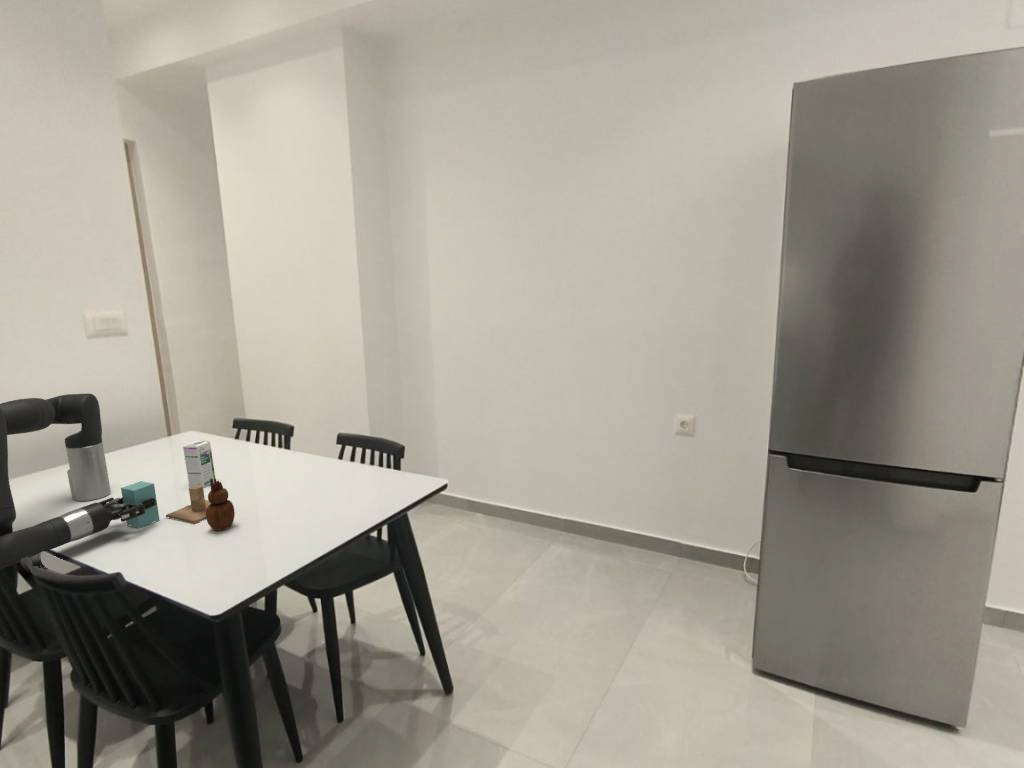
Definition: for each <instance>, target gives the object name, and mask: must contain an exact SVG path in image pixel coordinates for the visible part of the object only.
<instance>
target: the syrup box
mask: <svg viewBox="0 0 1024 768" xmlns="http://www.w3.org/2000/svg"><path fill="white" fill-rule="evenodd" d="M182 450H183V455H184V461H185V469H186V473H187V480H188V486H189V488H191V487H194V486H196V485H198V486H203V489H205V488H206V487H208V486H211V484H210V479H212V481H213V483H214V478H216V475H215V474H216V473H215V466H214V459H213V453H212V447H211V441H209V440H195V441H193V442H190V443H188V444H185V445H183V446H182Z"/></svg>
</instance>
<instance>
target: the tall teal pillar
mask: <svg viewBox="0 0 1024 768" xmlns="http://www.w3.org/2000/svg"><path fill="white" fill-rule="evenodd" d="M155 487H156V486H155V483H152V482H148V481H144V480H143V481H137V482H134V483H132V484H129V485H125V486H122V487H120V490H121V496H122V497H121V498H123V504H125V503H132V504H135V503H140V502H143V501H145V500H148V499H151V498H155V500H156V505H155V506H153V507H150V508H148V509H145V514H143V515H140V516H137V517H135V518H132V519H129V520H127V521H125V522H126V525H127V526H128V525H131V526H130V527H133V526H134V527H133V528H137V527H138V528H137V529H142V528H144V527H146V526H145V525H147V526H149V525H151V524H150V523H152V522H154V521H156V522H158V521H157V520H159V519H160V514H159V507H158V500H157V494H156V488H155ZM126 508H127V509H129V508H128V507H126ZM132 508H133V507H132ZM137 510H138V509H137ZM159 521H160V520H159ZM154 523H155V522H154ZM148 524H149V525H148ZM152 524H153V523H152ZM143 526H144V527H143ZM141 527H142V528H141Z"/></svg>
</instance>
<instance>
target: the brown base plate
mask: <svg viewBox="0 0 1024 768" xmlns="http://www.w3.org/2000/svg"><path fill="white" fill-rule="evenodd" d="M188 491H189V492H188V494H189V500H190V504H189V505H187V506H184V507H182V508H180V509H177V510H174V511H171V512H169V513H167V514H166V515H165V518H166V517H169V518H168V519H170V518H174V519H173V520H175V519H178V520H177V521H179V520H182V521H181V522H183V521H185V522H184V523H188V522H189V524H192V523H193V525H197V524H198V523H200V521H201V522H203V521H204V519H205V520H207V519H206V509H207V507H208V506H209V505H210V504H211V503H210V502H209V500H208V499H205V498H206V497H205V491H204V488H203V486H198V485H196V486H194V487H189V488H188ZM202 520H203V521H202Z"/></svg>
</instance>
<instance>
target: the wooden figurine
mask: <svg viewBox="0 0 1024 768" xmlns="http://www.w3.org/2000/svg"><path fill="white" fill-rule="evenodd" d="M207 500H208V501H209V502H210V503H211V504H210V505H209V506H208V507H207V509H206V519H205V520H206V521H207V522H206V523H207V524H208V525H209V526H210V528H211V529H212V530H213V531H215V532H219V531H224V530H227V529H229V528H230V527H232V526H233V523H234V520H235V506H234V504H233V502H232V501H231V500H229V493H228V489H226V488H224V487H223V484H222V482H221V481H219V480H217V479H216V477H215V478H214V483H213V481H212V479H210V491H209V492H208V494H207Z"/></svg>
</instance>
